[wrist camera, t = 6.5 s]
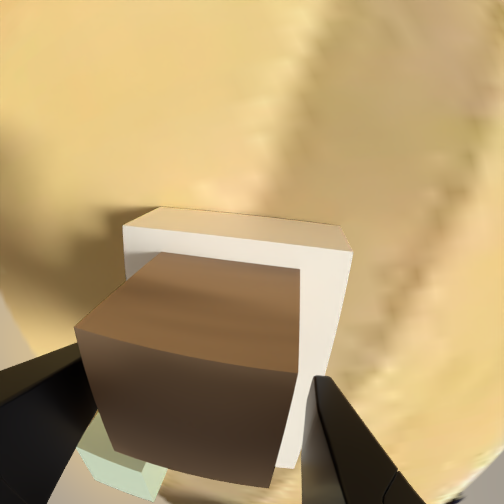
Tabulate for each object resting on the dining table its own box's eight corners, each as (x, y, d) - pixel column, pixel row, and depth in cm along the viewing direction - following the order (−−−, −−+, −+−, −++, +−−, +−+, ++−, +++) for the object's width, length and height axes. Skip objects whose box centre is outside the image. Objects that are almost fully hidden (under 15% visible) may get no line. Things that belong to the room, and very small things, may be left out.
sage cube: (174, 452, 18) (153, 502, 14) (120, 435, 18) (95, 480, 14) (168, 415, 16) (141, 472, 12) (108, 397, 17) (75, 446, 13)
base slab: (296, 425, 15) (293, 468, 12) (171, 404, 16) (153, 442, 13) (340, 225, 11) (353, 252, 9) (160, 206, 12) (122, 225, 9)
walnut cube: (282, 379, 10) (268, 487, 6) (167, 359, 11) (114, 450, 7) (300, 268, 9) (298, 373, 5) (161, 251, 9) (73, 326, 5)
